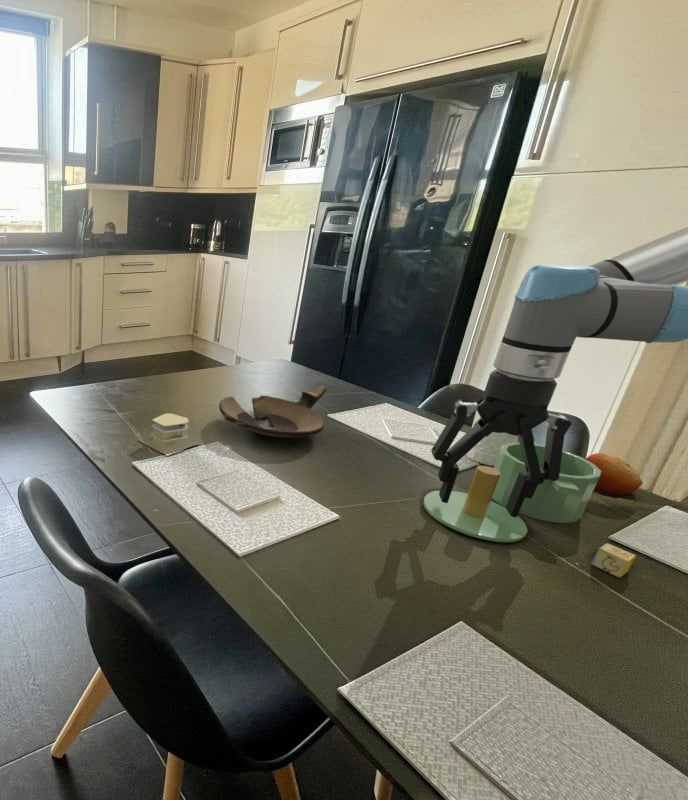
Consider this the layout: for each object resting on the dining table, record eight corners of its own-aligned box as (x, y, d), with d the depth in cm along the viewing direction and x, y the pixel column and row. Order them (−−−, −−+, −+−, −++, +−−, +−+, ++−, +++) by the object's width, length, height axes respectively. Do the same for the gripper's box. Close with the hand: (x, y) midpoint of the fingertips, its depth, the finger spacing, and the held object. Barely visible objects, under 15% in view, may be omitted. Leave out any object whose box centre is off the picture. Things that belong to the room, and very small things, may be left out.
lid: (509, 507, 83) (527, 460, 80) (538, 555, 72) (561, 502, 68) (416, 489, 89) (430, 444, 85) (429, 530, 77) (446, 480, 74)
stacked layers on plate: (167, 457, 99) (169, 432, 97) (137, 441, 105) (139, 417, 103) (200, 444, 104) (203, 421, 102) (170, 430, 111) (172, 407, 109)
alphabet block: (598, 558, 71) (607, 541, 70) (628, 572, 69) (637, 554, 68) (590, 565, 70) (598, 548, 69) (619, 579, 67) (628, 561, 66)
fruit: (556, 466, 94) (599, 440, 90) (594, 494, 92) (640, 469, 88) (567, 485, 88) (614, 457, 83) (609, 516, 86) (659, 489, 82)
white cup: (468, 446, 105) (482, 404, 101) (514, 460, 99) (531, 415, 96) (456, 457, 100) (471, 413, 97) (504, 472, 95) (521, 426, 91)
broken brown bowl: (198, 414, 120) (202, 385, 117) (309, 407, 125) (314, 379, 122) (240, 456, 99) (245, 422, 96) (370, 447, 104) (378, 414, 101)
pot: (556, 485, 90) (573, 444, 87) (603, 541, 75) (626, 494, 72) (474, 470, 95) (488, 431, 92) (502, 519, 80) (520, 475, 77)
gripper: (443, 370, 72) (404, 501, 80) (635, 393, 64) (569, 536, 72) (433, 358, 78) (398, 479, 86) (607, 377, 70) (550, 509, 78)
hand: (476, 505), depth 79 cm, fingers open, 8 cm apart
